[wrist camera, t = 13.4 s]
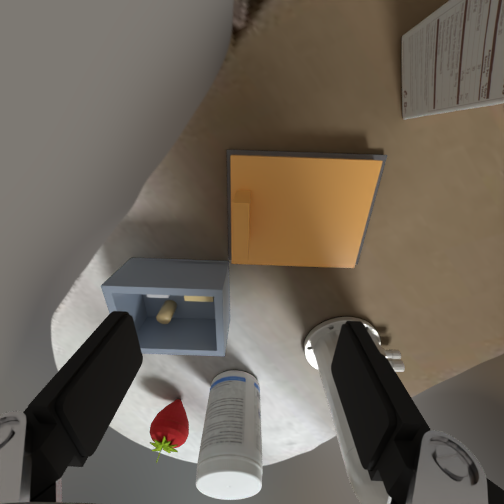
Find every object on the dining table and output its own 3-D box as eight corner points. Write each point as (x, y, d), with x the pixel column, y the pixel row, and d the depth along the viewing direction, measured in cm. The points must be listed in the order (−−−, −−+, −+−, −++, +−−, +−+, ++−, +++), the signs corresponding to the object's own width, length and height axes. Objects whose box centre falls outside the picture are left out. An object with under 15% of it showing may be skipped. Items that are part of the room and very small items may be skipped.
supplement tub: (203, 387, 45) (181, 490, 32) (226, 360, 41) (212, 463, 28) (244, 404, 47) (240, 506, 34) (270, 379, 43) (276, 483, 30)
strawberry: (184, 413, 49) (167, 474, 40) (155, 398, 46) (131, 459, 37) (201, 402, 47) (188, 464, 38) (172, 385, 45) (151, 447, 36)
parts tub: (229, 261, 32) (222, 289, 26) (230, 319, 37) (224, 356, 30) (131, 257, 32) (100, 285, 26) (145, 316, 37) (122, 352, 30)
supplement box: (484, 3, 20) (784, -181, 9) (474, 98, 23) (684, 54, 12) (398, 34, 21) (565, -93, 10) (399, 121, 24) (526, 102, 13)
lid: (373, 159, 25) (420, 166, 18) (348, 260, 31) (376, 296, 24) (232, 154, 25) (222, 159, 18) (232, 256, 31) (225, 291, 24)
